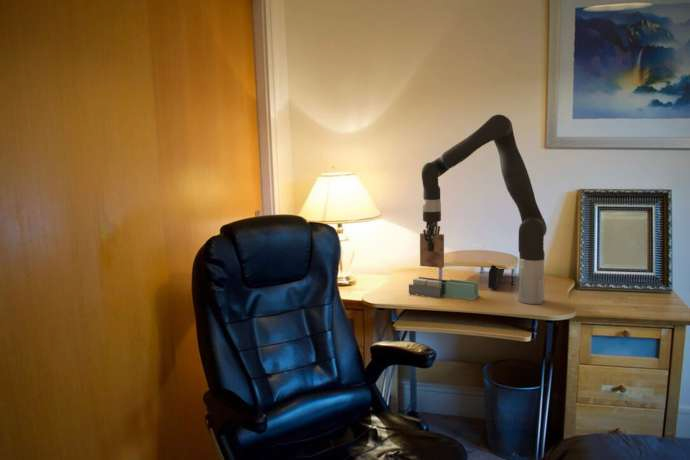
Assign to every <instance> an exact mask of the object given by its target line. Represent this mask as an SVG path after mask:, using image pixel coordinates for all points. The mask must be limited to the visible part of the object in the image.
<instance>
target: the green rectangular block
mask: <svg viewBox="0 0 690 460" xmlns="http://www.w3.org/2000/svg"><path fill="white" fill-rule="evenodd" d="M449 280H450V282H446V294H445V295H444V298H448V299H449V298H450V299H457V300H462V301H463V300H464V301H472V302H474V301H475V300H476V299H477V298H478V297H480V293H479V282H478V281H469V280H468V281H467V280H461V279H459V280H458V279H452V278H451V279H449Z"/></svg>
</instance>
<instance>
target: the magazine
mask: <svg viewBox="0 0 690 460" xmlns="http://www.w3.org/2000/svg"><path fill="white" fill-rule="evenodd" d="M504 271H505V268H504V269H498V268H496V266H494V264H492V265H491V266H490V268H489V270H488V281H487V282H488V285H487V287H488V289H492V290H493V289H497V287H498V286H499V285H500V284H501V282H502V278H503V275H504ZM500 281H501V282H500ZM499 283H500V284H499Z"/></svg>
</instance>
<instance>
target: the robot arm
mask: <svg viewBox="0 0 690 460" xmlns="http://www.w3.org/2000/svg"><path fill="white" fill-rule="evenodd" d="M513 129H514V128H513V123H512V121H511V120H510V119H509V118H508V117H507V116H505V115H503V114H494V115H493V116H491V117H490V118H489V119H487V120H486V121H485V122H484V123H483V124H482V125H481V126H480V127H478V129H477V130H475V131H474V132H473V133H472V134H470V135H469V136H467V137H466V138H464V139H463V140H461V141H460V142H458V143H457V144H455V145H453V146H451V147H450V148H448V149H447V150H446V151H444V152H443V153H442V154H441V155H440V156H439V157H437V158H436V159H434V160H433V161H430V162H426V163H425V164H423V166H422V169H421V181H422V186H423V193H422V194H423V195H422V196H423V197H422V198H423V200H422V201H423V202H422V221H423V222H424V223H426V224H425V229H423V231H422V233H424V237H425V240H426V241H427V242H428V251H433V250H434V249H433V242H434V237H435V234H440V231H441V226H440V225H439V222H441V221H442V202H441V187H440V186H439V177H441V176H442V175H444V174H445V173H447V171H449V170H450V169H451V168H454V167H455V166H457V165H459V164H460V163H462V162H463V161H465V160H467V159H468V158H469V157H470V156H472V155H473V154H474V153H475V152H476V151H478V149H480V148H481V147H483V146H484V145H486V144H489V143H490V142H492V141H493V143H494V144H495V146H496V149H497V152H498V155H499V161H500V162H499V163H500V168H501V174H502V179H503V181H504V184H505V188H506V190H507V192H508V194H509V196H510V197H511V198H512V200H513V202H514V204H515V205H516V207H517V209H518V211H519V215H520V216H519V217H520V220H521V224H520V225H519V228H518V254H519V256H518V257H519V261H518V263H519V265H518V268H519V269H518V295H517V296H518V297H517V300H518V301H519V302H521V303H522V304H529V305H530V304H531V305H542V304H543V303H544V302H545V290H546V289H545V283H546V277H545V273H544V272H545V258H546V257H545V256H546V255H545V251H544V246H545V245H544V241H545V240H544V238H545V235H546V234H547V231H548V230H547V229H548V228H547V223H546V222H545V219H544V217H543V214H542V213H541V211H540V208H539V206H538V203H537V201H536V196H535V191H534V189H533V186H532V181H531V178H530V175H529V172H528V169H527V167H526V164H525V162H524V160H523V157H522V155H521V153H520V151H519V148H518V146H517V145H518V144H517V142H516V139H515V133H514V130H513ZM431 234H433V235H431ZM431 237H432V238H431Z"/></svg>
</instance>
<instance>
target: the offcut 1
mask: <svg viewBox="0 0 690 460" xmlns="http://www.w3.org/2000/svg"><path fill="white" fill-rule="evenodd" d="M427 280H428V279H420V278H418V277H415V278H413V280H412V282H413V284H412V285H420V286H426V281H427Z"/></svg>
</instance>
